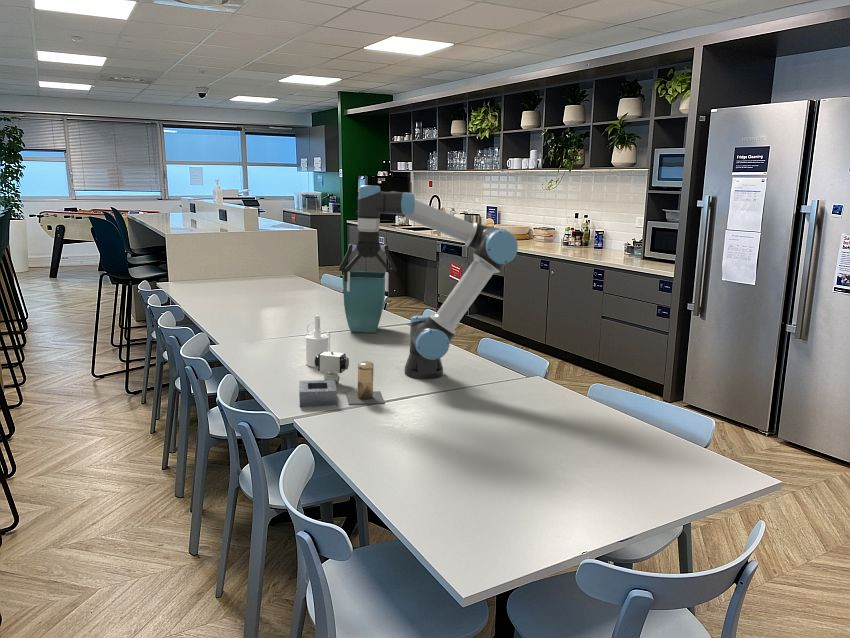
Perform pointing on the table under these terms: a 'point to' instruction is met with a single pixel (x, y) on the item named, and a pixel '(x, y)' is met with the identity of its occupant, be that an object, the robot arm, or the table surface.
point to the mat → (355, 400)
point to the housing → (317, 393)
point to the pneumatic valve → (332, 364)
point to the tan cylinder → (365, 380)
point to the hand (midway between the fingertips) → (367, 291)
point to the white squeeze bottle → (316, 343)
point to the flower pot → (364, 300)
